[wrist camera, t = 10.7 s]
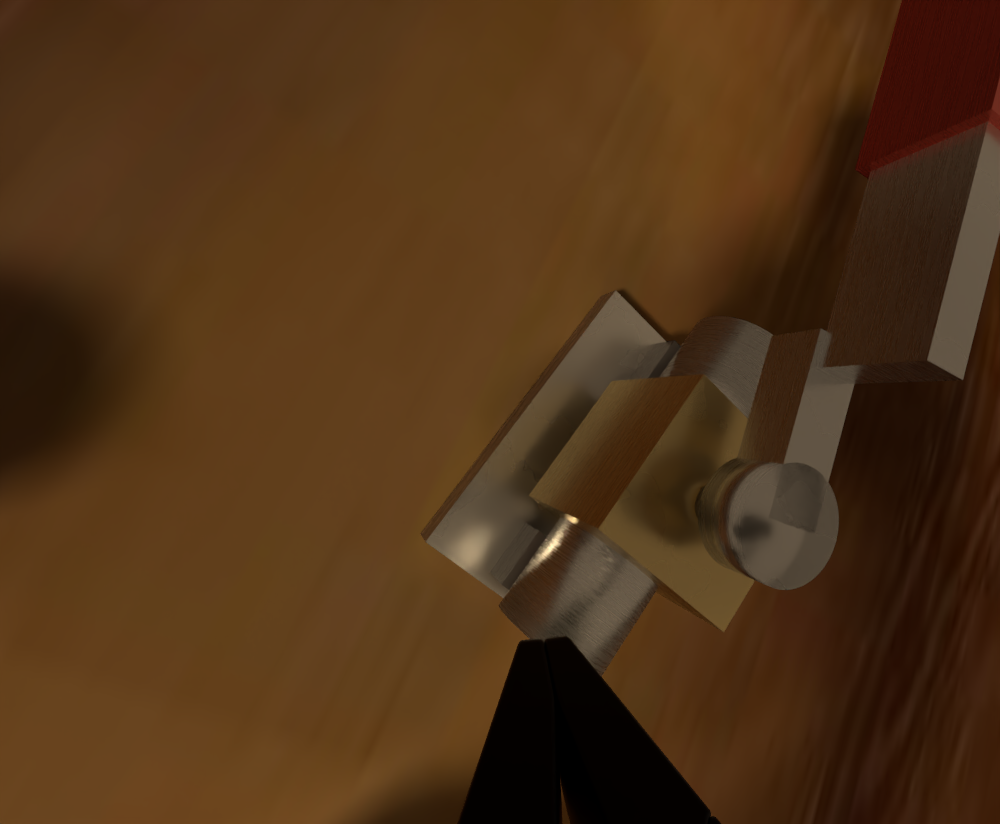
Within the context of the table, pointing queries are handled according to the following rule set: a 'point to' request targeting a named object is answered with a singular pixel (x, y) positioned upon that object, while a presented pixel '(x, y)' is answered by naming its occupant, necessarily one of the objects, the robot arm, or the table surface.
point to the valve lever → (876, 291)
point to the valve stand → (609, 480)
